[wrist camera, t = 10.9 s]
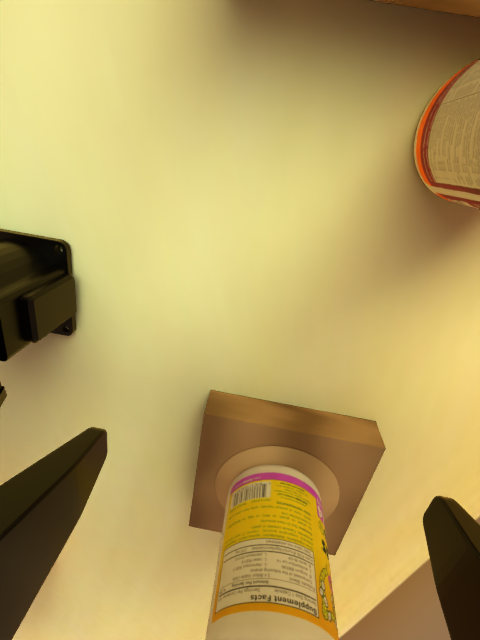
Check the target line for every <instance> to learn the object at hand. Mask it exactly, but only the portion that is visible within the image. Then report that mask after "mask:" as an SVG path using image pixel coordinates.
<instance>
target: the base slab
mask: <svg viewBox="0 0 480 640" xmlns="http://www.w3.org/2000/svg"><path fill="white" fill-rule="evenodd" d="M385 449H386V448H385V445H384V443H383V440H382V437H381V434H380V432H379V429H378V426H377V424H376V421H371V420H365V419H360V418H355V417H350V416H344V415H339V414H334V413H329V412H323V411H318V410H313V409H308V408H302V407H297V406H292V405H286V404H281V403H276V402H271V401H265V400H260V399H255V398H250V397H244V396H239V395H234V394H229V393H223V392H218V391H213V390H211V392H210V395H209V398H208V402H207V405H206V409H205V412H204V418H203V425H202V432H201V440H200V447H199V455H198V462H197V470H196V477H195V484H194V492H193V499H192V507H191V514H190V522H189V526H192V527H197V528H201V529H206V530H211V531H216V532H221V533H222V529H223V523H224V516H225V509H226V503H227V497H228V492H229V488H230V486H231V484H232V482H233V481H234V479H235V478H236V477H237V476H238V475H239V474H241V473H242V472H244V471H245V470H247V469H249V468H252V467H255V466H259V465H281V466H286V467H290V468H293V469H295V470H298V471H299V472H301V473H303V474H304V475H306V476H307V477H308V478H309V479H310V480H311V481H312V482H313V483H314V484H315V486H316V487H317V489H318V492H319V494H320V498H321V504H322V510H323V517H324V525H325V533H326V541H327V549H328V554H330V555H335V554H336V552H337V550H338V548H339V546H340V544H341V542H342V539H343V537H344V535H345V533H346V531H347V529H348V527H349V525H350V523H351V520H352V518H353V516H354V514H355V512H356V510H357V508H358V506H359V504H360V501H361V499H362V497H363V495H364V493H365V491H366V489H367V487H368V485H369V482H370V480H371V478H372V476H373V474H374V472H375V470H376V468H377V466H378V463H379V461H380V459H381V457H382V455H383V453H384V451H385Z"/></svg>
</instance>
